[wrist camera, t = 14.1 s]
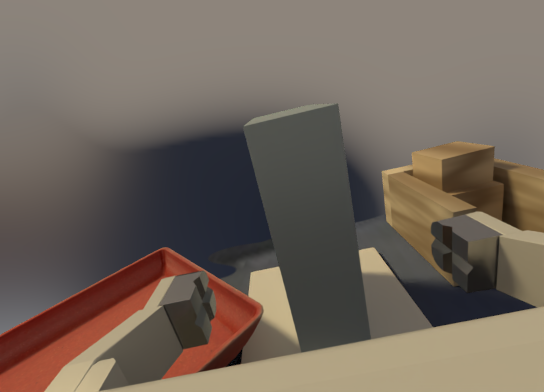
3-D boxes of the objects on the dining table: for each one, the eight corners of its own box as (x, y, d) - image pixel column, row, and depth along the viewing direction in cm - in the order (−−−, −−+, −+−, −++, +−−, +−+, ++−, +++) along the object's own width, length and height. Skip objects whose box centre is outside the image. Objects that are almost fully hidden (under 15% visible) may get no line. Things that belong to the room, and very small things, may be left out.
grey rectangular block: (305, 366, 15) (242, 126, 11) (293, 280, 23) (254, 118, 18) (373, 354, 15) (337, 103, 11) (338, 271, 23) (309, 104, 18)
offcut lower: (442, 239, 23) (441, 197, 22) (412, 216, 28) (410, 181, 26) (501, 227, 23) (503, 184, 21) (461, 206, 27) (461, 169, 26)
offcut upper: (442, 193, 22) (441, 159, 21) (413, 182, 26) (412, 152, 25) (492, 181, 22) (494, 146, 21) (456, 171, 26) (456, 141, 25)
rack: (453, 286, 19) (453, 212, 17) (386, 221, 30) (381, 171, 28) (583, 261, 18) (597, 182, 17) (466, 204, 29) (467, 152, 27)
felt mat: (239, 412, 14) (236, 405, 14) (252, 277, 26) (251, 272, 26) (462, 374, 14) (462, 366, 13) (374, 252, 25) (373, 247, 25)
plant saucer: (-46, 401, 20) (-76, 371, 19) (175, 268, 30) (164, 243, 29) (-239, 910, 6) (-385, 900, 5) (283, 348, 17) (269, 307, 16)
